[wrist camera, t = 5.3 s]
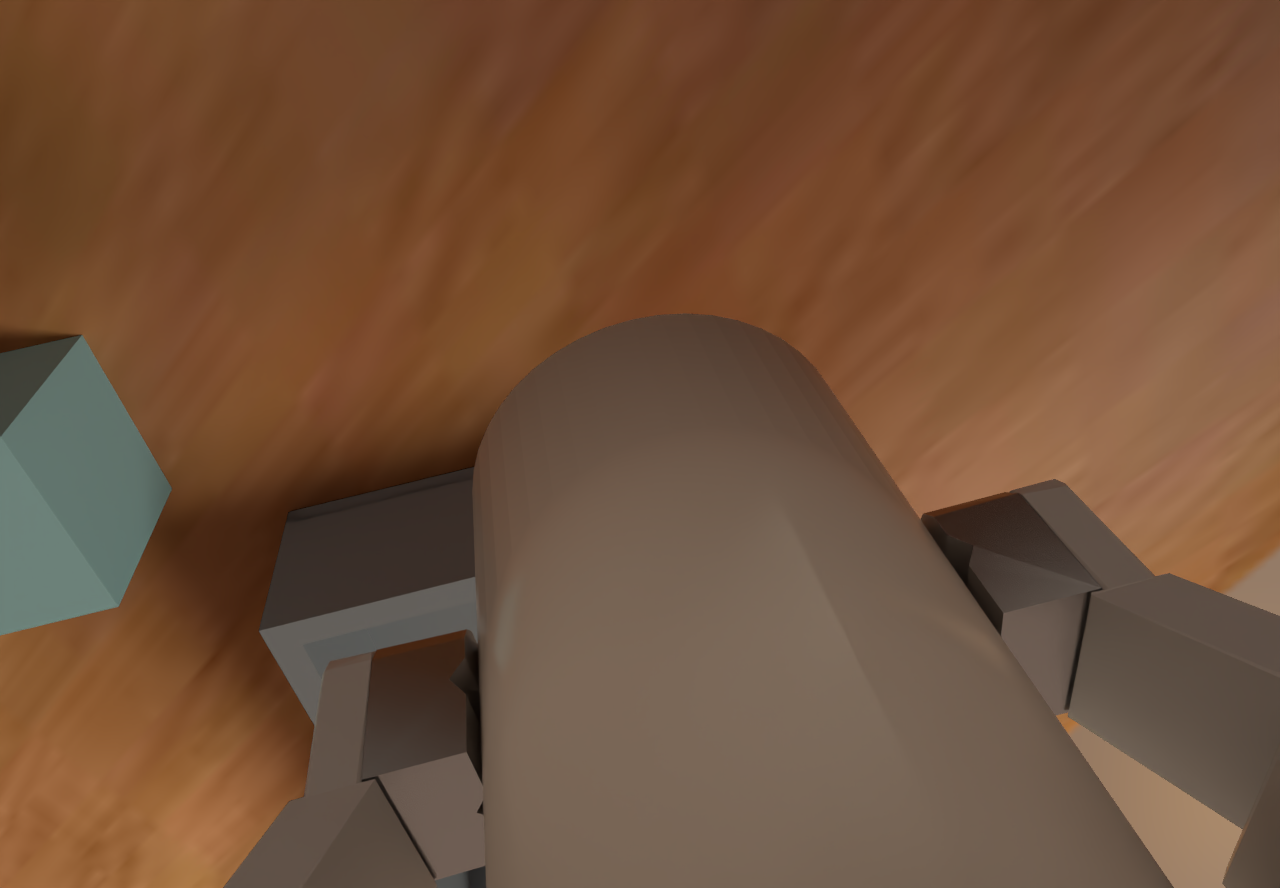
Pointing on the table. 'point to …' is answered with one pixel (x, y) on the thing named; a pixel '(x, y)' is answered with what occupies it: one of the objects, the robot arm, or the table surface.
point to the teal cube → (69, 487)
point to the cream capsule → (746, 647)
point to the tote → (373, 583)
